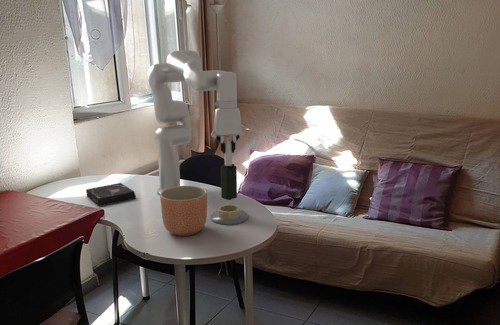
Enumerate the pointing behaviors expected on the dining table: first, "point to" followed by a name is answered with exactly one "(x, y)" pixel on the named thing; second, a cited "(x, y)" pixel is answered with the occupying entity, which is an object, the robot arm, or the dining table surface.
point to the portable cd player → (110, 194)
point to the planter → (184, 209)
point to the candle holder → (229, 215)
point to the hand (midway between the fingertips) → (228, 151)
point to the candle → (228, 174)
